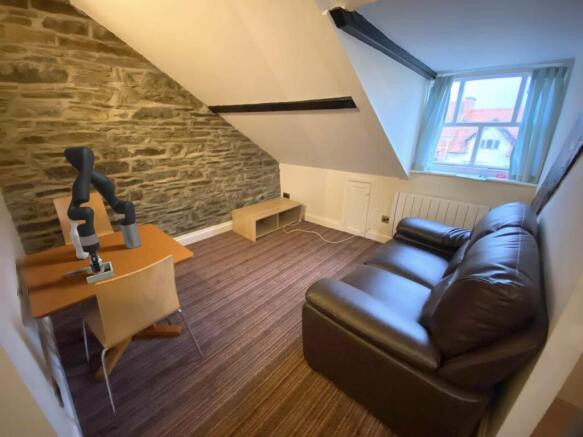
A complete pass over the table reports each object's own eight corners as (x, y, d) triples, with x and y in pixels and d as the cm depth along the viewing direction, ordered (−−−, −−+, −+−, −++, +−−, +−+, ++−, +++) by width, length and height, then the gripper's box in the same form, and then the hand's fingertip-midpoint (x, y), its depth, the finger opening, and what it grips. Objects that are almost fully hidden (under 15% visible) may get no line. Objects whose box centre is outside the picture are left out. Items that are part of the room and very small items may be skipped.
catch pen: (112, 266, 146) (110, 261, 145) (114, 275, 137) (113, 270, 136) (87, 273, 139) (85, 268, 138) (88, 283, 130) (86, 278, 129)
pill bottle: (91, 271, 137) (86, 256, 133) (103, 267, 141) (98, 253, 137) (94, 275, 134) (89, 260, 130) (105, 271, 138) (101, 256, 134)
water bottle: (83, 260, 151) (71, 224, 142) (74, 259, 153) (62, 223, 144) (94, 255, 158) (83, 220, 149) (85, 254, 159) (74, 218, 150)
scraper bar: (94, 267, 146) (93, 262, 145) (95, 271, 141) (93, 267, 140) (66, 274, 138) (64, 269, 137) (66, 279, 134) (64, 274, 133)
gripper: (99, 244, 128) (107, 272, 134) (97, 235, 138) (105, 261, 144) (81, 249, 123) (90, 276, 129) (80, 239, 133) (89, 265, 139)
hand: (97, 268), depth 137 cm, fingers closed on pill bottle, 5 cm apart
